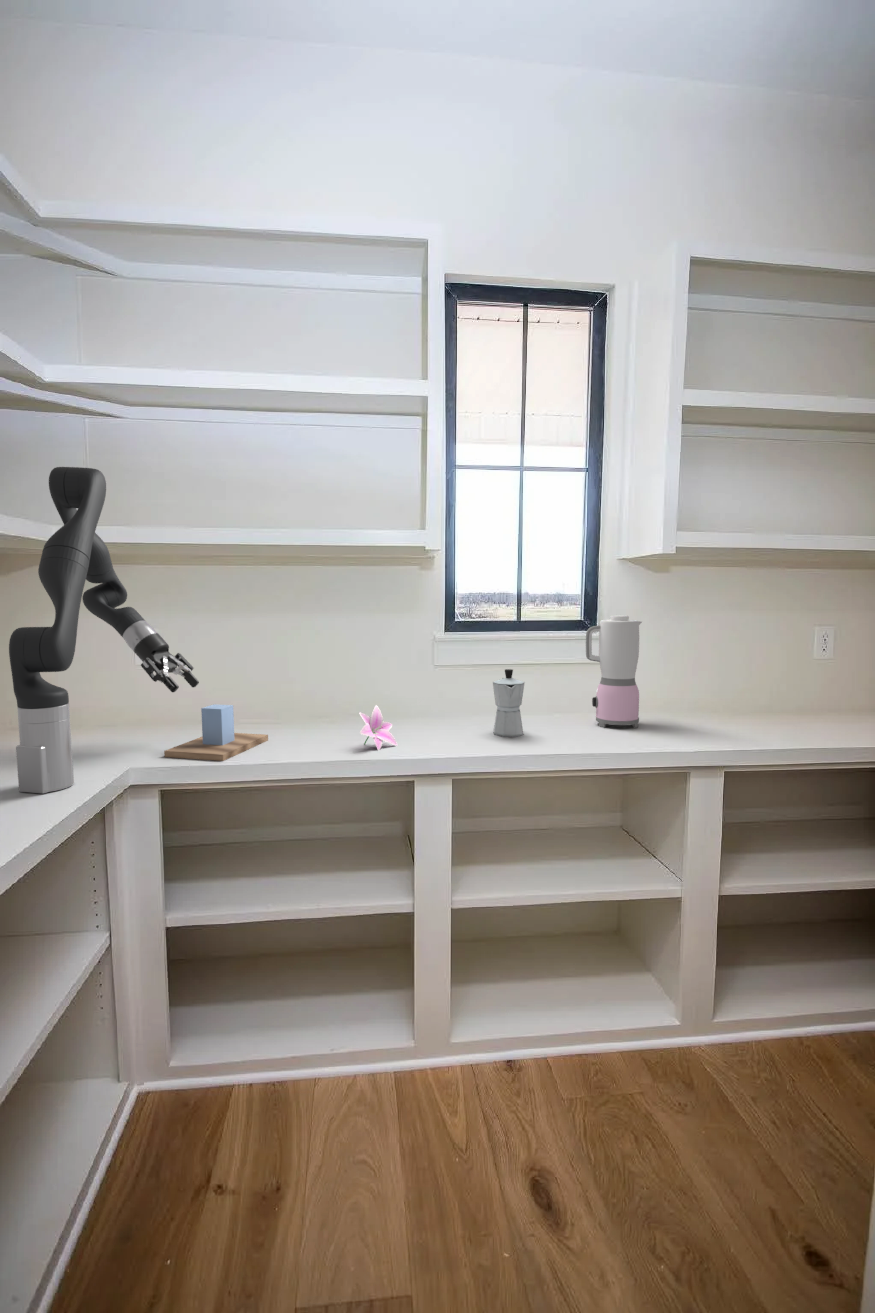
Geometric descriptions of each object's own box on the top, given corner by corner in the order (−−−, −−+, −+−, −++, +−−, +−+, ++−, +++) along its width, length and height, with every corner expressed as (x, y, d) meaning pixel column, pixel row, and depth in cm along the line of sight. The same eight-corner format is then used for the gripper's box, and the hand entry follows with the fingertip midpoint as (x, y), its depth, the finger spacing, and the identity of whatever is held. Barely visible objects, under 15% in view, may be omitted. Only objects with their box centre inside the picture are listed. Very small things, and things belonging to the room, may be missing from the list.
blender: (634, 721, 207) (637, 614, 203) (643, 729, 195) (646, 616, 191) (581, 720, 208) (583, 614, 205) (586, 729, 196) (588, 616, 193)
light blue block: (222, 745, 172) (221, 709, 171) (202, 744, 173) (201, 708, 172) (234, 740, 177) (233, 705, 176) (215, 739, 179) (213, 704, 178)
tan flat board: (223, 761, 163) (221, 725, 162) (164, 757, 167) (162, 722, 166) (268, 740, 184) (267, 708, 183) (215, 737, 188) (213, 706, 187)
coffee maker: (527, 738, 185) (527, 672, 183) (494, 738, 185) (494, 672, 183) (520, 726, 200) (520, 665, 198) (490, 727, 199) (490, 665, 198)
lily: (352, 756, 171) (368, 725, 168) (341, 730, 180) (356, 700, 177) (393, 765, 177) (409, 735, 174) (380, 738, 186) (395, 709, 183)
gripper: (135, 634, 170) (177, 681, 168) (171, 630, 183) (211, 674, 182) (118, 654, 172) (160, 702, 170) (155, 649, 185) (194, 693, 184)
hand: (186, 687), depth 176 cm, fingers open, 8 cm apart
